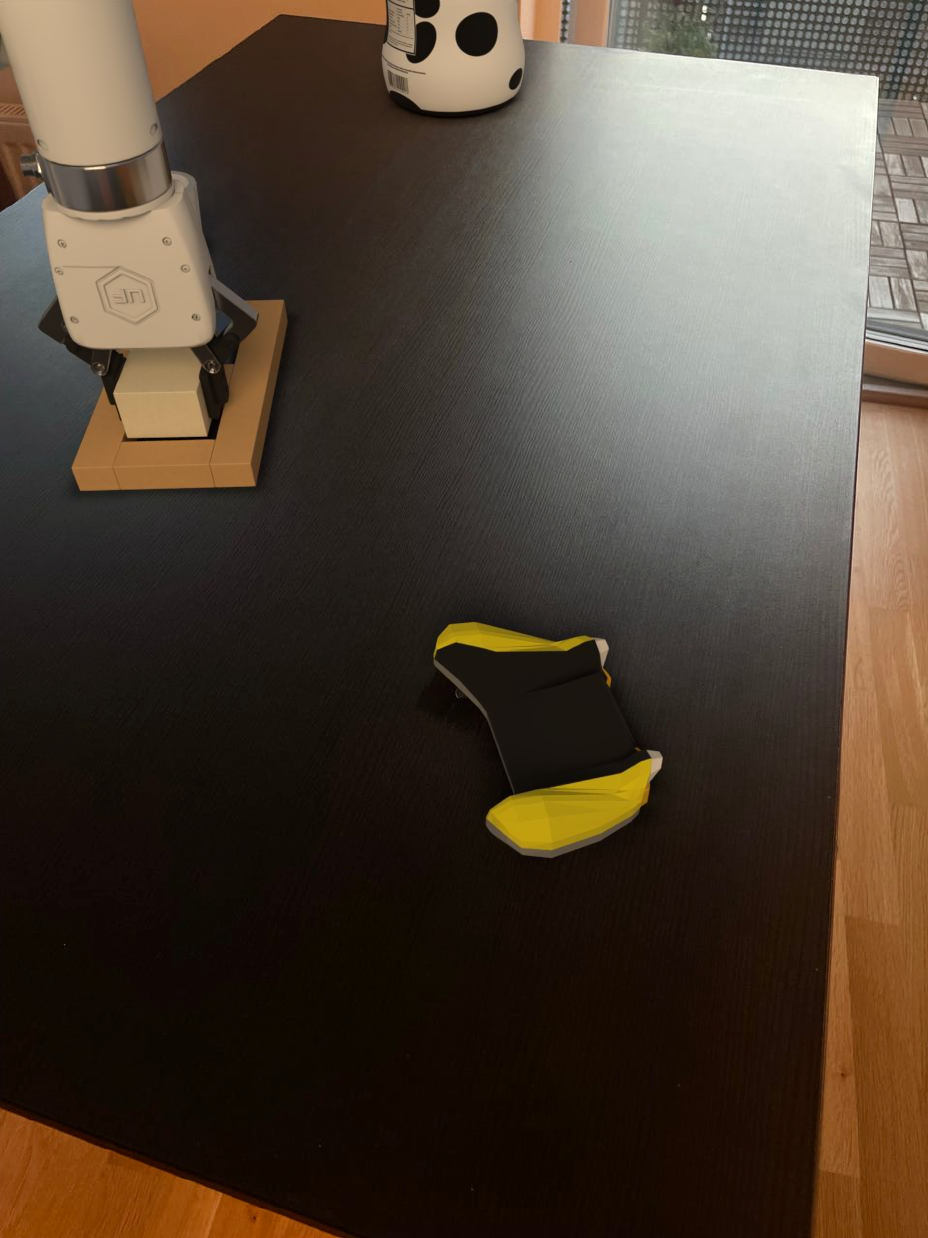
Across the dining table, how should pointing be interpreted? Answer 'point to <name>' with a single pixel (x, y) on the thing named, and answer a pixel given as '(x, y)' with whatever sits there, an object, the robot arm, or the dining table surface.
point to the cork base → (194, 462)
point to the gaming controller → (550, 736)
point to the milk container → (452, 55)
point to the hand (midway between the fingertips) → (172, 407)
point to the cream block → (162, 394)
